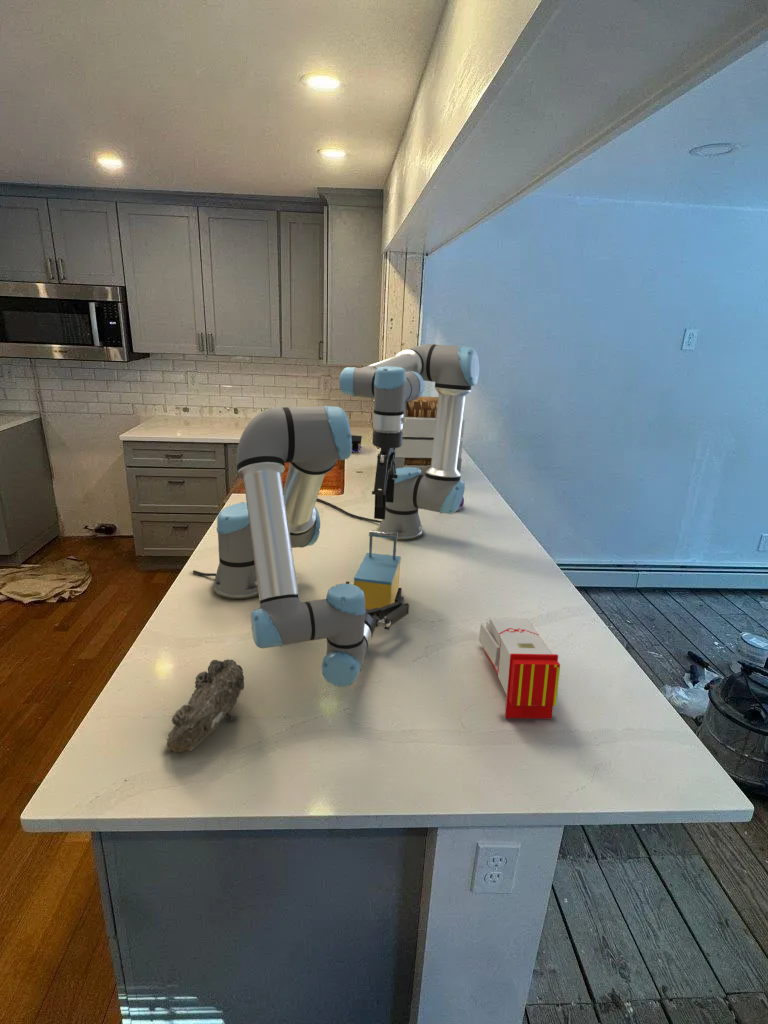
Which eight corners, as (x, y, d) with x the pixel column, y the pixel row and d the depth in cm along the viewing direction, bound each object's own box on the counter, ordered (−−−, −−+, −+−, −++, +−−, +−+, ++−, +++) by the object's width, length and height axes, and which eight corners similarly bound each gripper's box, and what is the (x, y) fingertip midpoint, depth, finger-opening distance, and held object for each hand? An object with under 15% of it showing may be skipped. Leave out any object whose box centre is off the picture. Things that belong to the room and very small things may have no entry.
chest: (365, 588, 160) (366, 556, 157) (398, 592, 159) (400, 560, 156) (352, 615, 146) (353, 580, 142) (389, 620, 144) (391, 585, 141)
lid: (366, 555, 157) (367, 526, 155) (400, 558, 156) (402, 530, 153) (354, 580, 142) (354, 549, 140) (391, 585, 141) (393, 553, 138)
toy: (525, 603, 136) (569, 660, 107) (520, 654, 139) (562, 725, 109) (475, 601, 135) (505, 659, 106) (471, 653, 138) (499, 724, 109)
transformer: (382, 463, 289) (386, 382, 275) (445, 464, 293) (451, 384, 279) (390, 482, 257) (394, 392, 243) (460, 483, 261) (468, 394, 247)
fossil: (192, 660, 117) (244, 628, 112) (224, 691, 120) (276, 661, 115) (142, 746, 98) (202, 712, 93) (182, 779, 101) (242, 748, 96)
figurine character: (361, 456, 305) (361, 447, 319) (361, 443, 302) (362, 434, 315) (348, 456, 305) (350, 446, 318) (349, 442, 302) (350, 433, 315)
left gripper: (301, 640, 129) (326, 596, 148) (410, 655, 125) (421, 608, 145) (301, 611, 126) (326, 570, 146) (412, 625, 122) (423, 581, 142)
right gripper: (394, 442, 130) (390, 528, 137) (409, 422, 153) (404, 496, 160) (362, 439, 131) (360, 524, 138) (381, 420, 154) (378, 494, 162)
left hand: (373, 589), depth 145 cm, fingers open, 13 cm apart
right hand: (384, 510), depth 149 cm, fingers open, 13 cm apart
